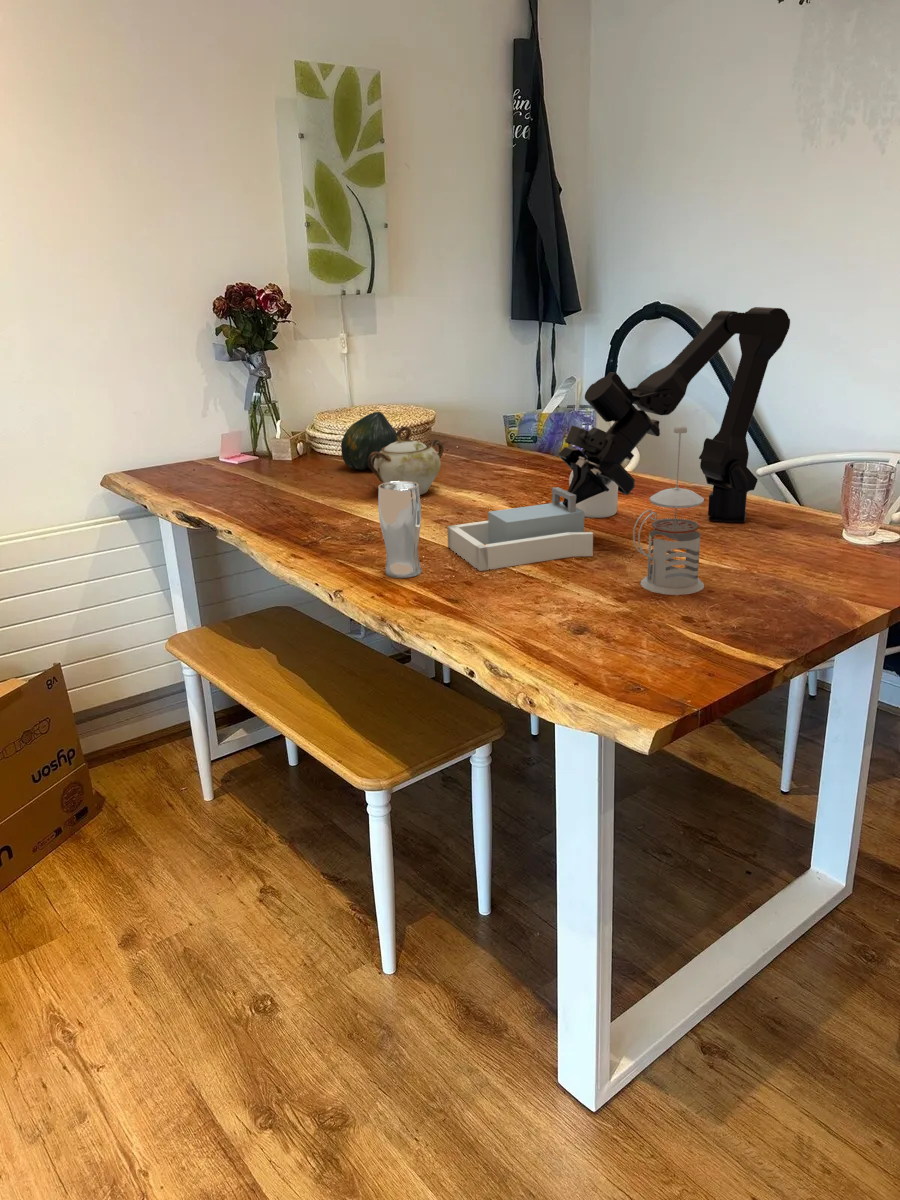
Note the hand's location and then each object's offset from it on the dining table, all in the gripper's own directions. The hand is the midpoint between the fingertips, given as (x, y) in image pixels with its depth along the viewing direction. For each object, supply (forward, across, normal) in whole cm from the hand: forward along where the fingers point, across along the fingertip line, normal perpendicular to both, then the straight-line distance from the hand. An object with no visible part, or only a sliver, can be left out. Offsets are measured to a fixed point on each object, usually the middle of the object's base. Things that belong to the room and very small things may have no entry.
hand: (565, 505), depth 161 cm
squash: (+14, -81, -4) cm, 82 cm away
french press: (+2, +27, +8) cm, 28 cm away
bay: (+12, 0, -1) cm, 12 cm away
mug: (-6, -17, +16) cm, 24 cm away
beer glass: (+28, +2, -17) cm, 33 cm away
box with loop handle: (+9, 0, +1) cm, 9 cm away
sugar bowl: (+14, -51, -4) cm, 53 cm away
